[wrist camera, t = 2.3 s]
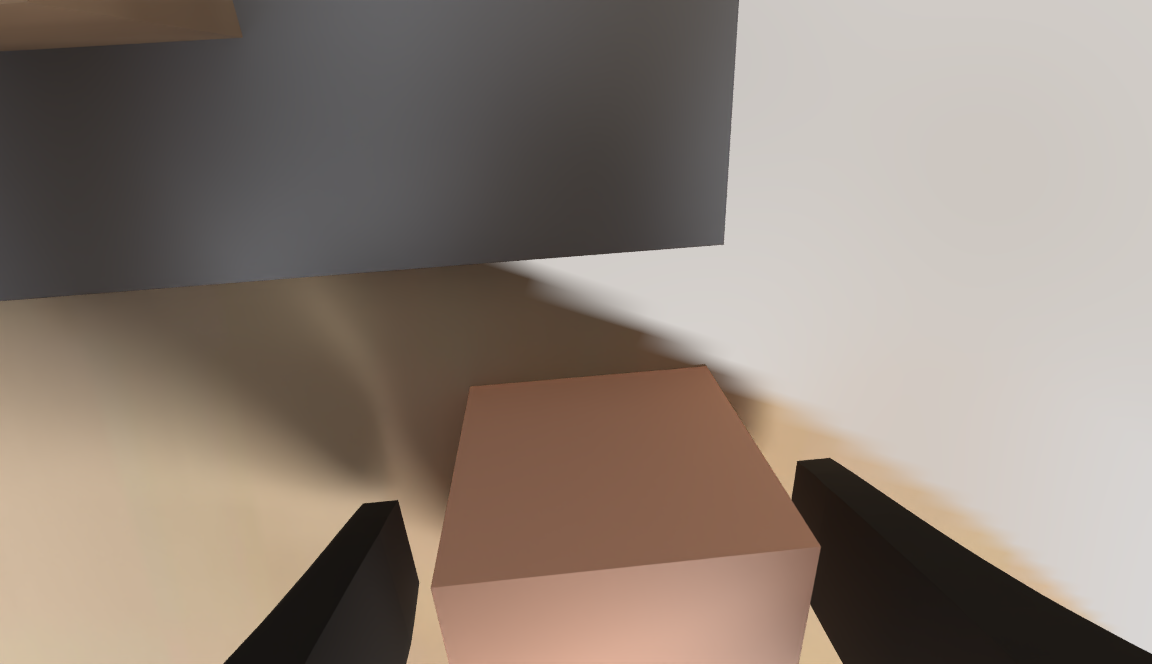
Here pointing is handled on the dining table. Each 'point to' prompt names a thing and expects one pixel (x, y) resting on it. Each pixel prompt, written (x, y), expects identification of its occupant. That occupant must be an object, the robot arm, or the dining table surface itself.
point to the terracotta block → (618, 529)
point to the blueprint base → (352, 136)
